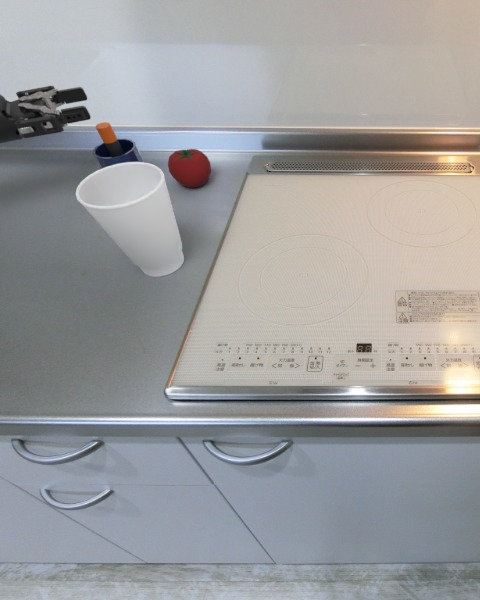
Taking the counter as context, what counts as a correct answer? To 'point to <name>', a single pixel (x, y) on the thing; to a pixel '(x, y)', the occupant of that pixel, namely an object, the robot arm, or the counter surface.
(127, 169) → the cup
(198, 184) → the tomato
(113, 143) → the marker
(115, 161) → the pen pot
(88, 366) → the counter surface
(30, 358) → the counter surface
